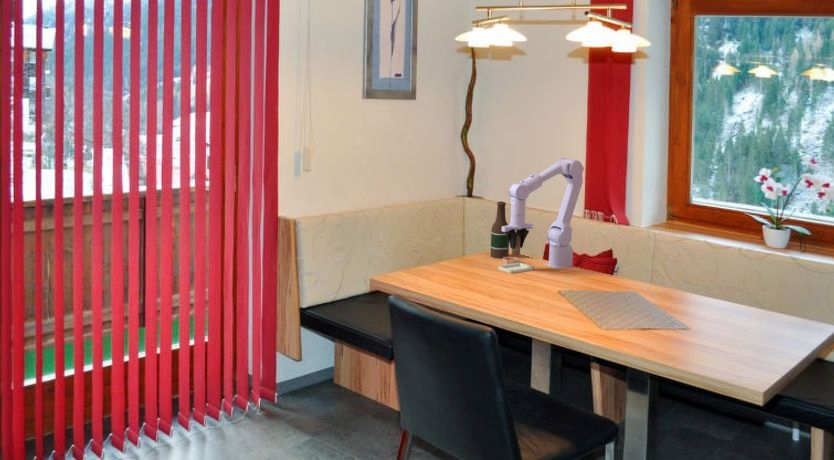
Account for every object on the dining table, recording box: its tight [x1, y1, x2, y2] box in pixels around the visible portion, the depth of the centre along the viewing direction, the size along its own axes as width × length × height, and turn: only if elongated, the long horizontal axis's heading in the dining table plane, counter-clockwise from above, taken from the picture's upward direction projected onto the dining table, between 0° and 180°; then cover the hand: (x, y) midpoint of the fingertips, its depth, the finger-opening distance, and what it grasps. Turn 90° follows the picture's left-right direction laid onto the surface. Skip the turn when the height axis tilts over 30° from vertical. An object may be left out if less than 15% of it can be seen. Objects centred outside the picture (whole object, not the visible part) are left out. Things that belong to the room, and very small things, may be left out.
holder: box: [502, 256, 520, 265], centre depth 364 cm, size 6×6×2 cm
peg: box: [511, 235, 521, 256], centre depth 352 cm, size 3×3×8 cm
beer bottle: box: [490, 201, 510, 260], centre depth 374 cm, size 8×8×24 cm
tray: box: [496, 262, 535, 274], centre depth 354 cm, size 12×9×2 cm
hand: (516, 247), depth 353 cm, fingers closed on peg, 3 cm apart
